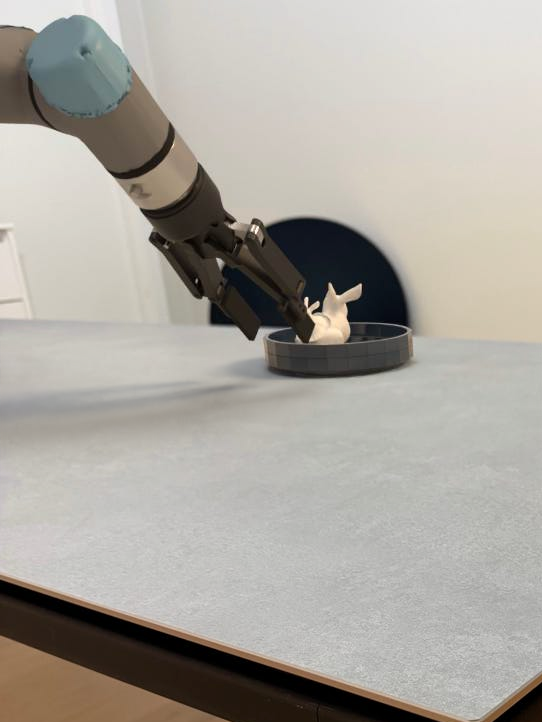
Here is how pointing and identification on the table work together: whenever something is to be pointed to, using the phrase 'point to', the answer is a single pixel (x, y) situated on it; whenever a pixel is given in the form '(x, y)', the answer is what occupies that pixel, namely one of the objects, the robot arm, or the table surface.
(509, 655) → the table surface
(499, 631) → the table surface
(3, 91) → the robot arm
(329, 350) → the bowl
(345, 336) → the rabbit figurine
